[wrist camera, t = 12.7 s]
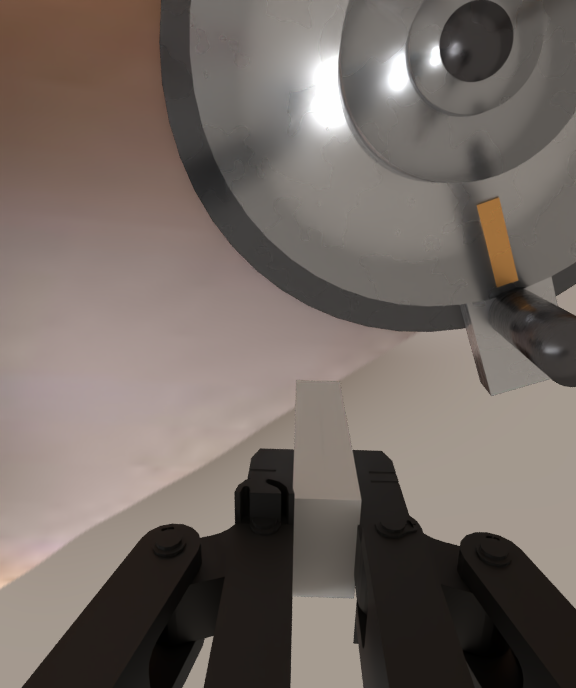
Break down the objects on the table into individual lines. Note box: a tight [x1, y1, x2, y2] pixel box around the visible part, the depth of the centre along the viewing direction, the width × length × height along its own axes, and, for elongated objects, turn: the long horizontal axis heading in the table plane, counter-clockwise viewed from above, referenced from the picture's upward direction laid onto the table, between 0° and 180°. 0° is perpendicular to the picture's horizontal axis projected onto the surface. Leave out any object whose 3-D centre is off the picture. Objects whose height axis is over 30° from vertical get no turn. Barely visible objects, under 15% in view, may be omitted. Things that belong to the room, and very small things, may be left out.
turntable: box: [190, 0, 576, 396], centre depth 19 cm, size 23×25×8 cm
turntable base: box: [159, 0, 576, 332], centre depth 23 cm, size 26×26×1 cm
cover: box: [337, 0, 576, 183], centre depth 19 cm, size 9×9×4 cm
